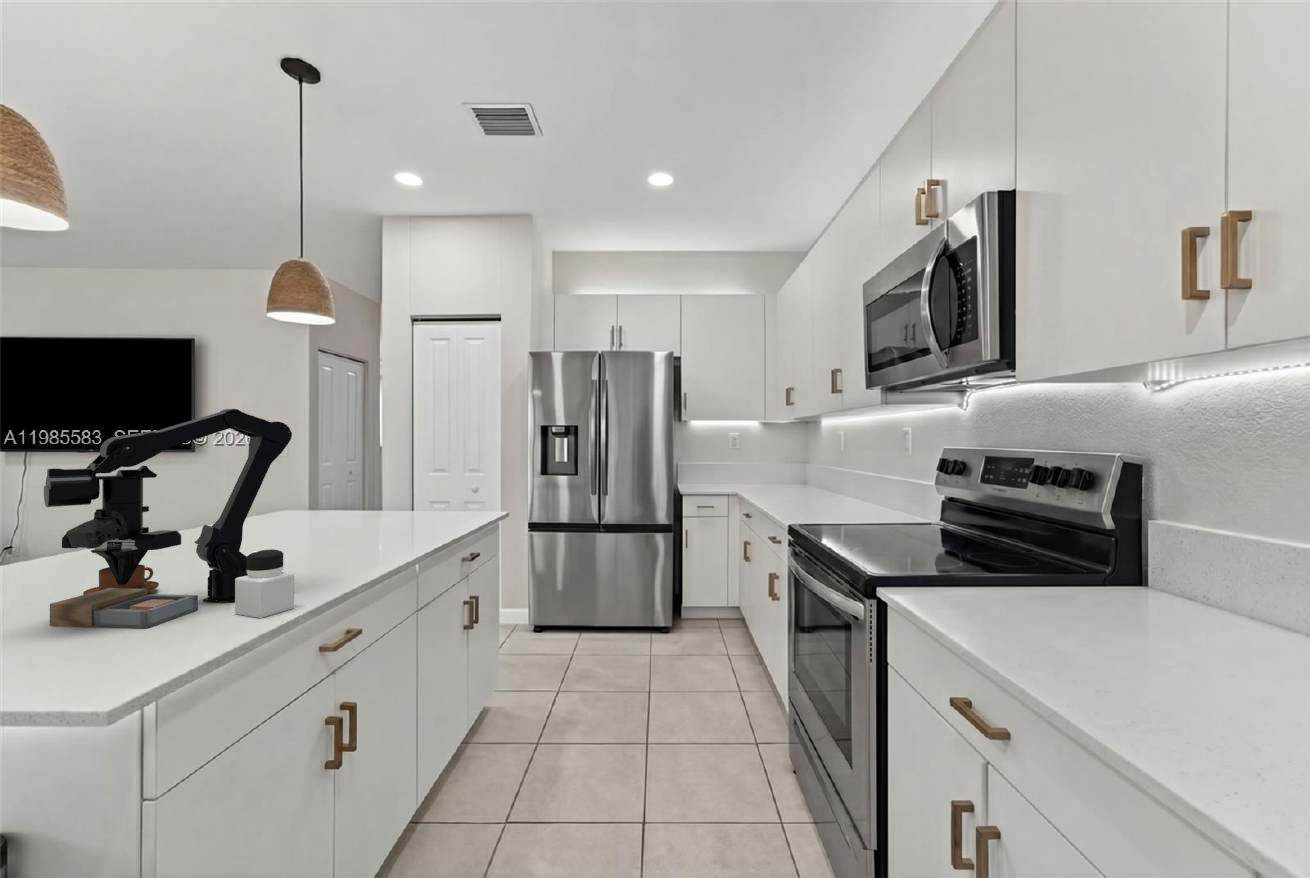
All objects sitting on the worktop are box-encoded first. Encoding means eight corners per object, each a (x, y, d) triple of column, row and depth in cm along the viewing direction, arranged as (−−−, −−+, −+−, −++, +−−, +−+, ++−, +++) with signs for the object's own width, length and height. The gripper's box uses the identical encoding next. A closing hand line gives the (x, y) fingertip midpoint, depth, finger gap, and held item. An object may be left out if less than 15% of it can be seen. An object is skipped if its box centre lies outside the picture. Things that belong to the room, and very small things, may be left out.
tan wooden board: (147, 609, 117) (147, 589, 117) (91, 627, 106) (91, 605, 106) (109, 608, 117) (109, 588, 117) (49, 625, 106) (49, 603, 106)
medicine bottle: (294, 608, 118) (295, 549, 118) (260, 618, 111) (261, 555, 111) (269, 604, 120) (269, 546, 120) (234, 614, 114) (234, 553, 114)
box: (197, 610, 116) (197, 595, 116) (146, 628, 105) (146, 612, 105) (149, 609, 117) (149, 594, 117) (94, 627, 106) (94, 610, 106)
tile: (151, 599, 113) (151, 612, 113) (130, 606, 108) (129, 619, 108) (174, 599, 112) (174, 612, 112) (153, 606, 108) (153, 620, 108)
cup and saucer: (114, 590, 131) (114, 562, 131) (172, 589, 132) (172, 561, 132) (66, 605, 119) (66, 575, 119) (130, 604, 120) (131, 574, 120)
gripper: (29, 506, 103) (28, 595, 104) (129, 508, 102) (128, 597, 103) (92, 499, 115) (92, 579, 115) (183, 501, 114) (183, 581, 114)
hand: (122, 584), depth 111 cm, fingers closed
